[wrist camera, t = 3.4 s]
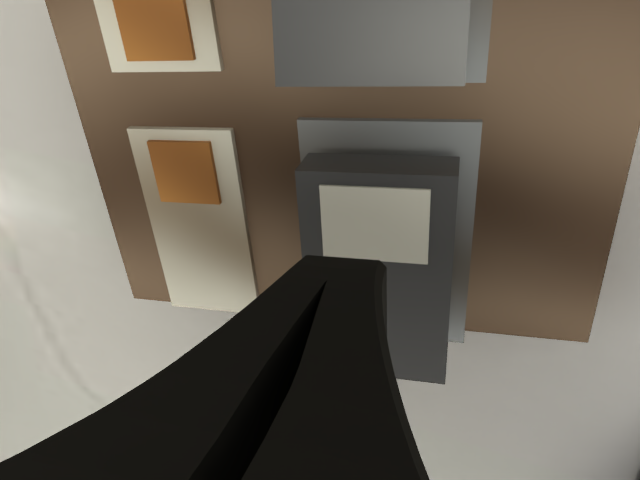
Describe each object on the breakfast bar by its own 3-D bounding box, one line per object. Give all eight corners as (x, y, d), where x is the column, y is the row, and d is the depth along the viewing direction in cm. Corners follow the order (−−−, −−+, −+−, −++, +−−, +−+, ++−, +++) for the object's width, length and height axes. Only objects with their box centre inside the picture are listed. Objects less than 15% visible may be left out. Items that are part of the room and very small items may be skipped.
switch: (446, 354, 15) (445, 386, 14) (321, 340, 16) (310, 369, 15) (460, 156, 12) (458, 177, 11) (308, 152, 13) (293, 171, 12)
